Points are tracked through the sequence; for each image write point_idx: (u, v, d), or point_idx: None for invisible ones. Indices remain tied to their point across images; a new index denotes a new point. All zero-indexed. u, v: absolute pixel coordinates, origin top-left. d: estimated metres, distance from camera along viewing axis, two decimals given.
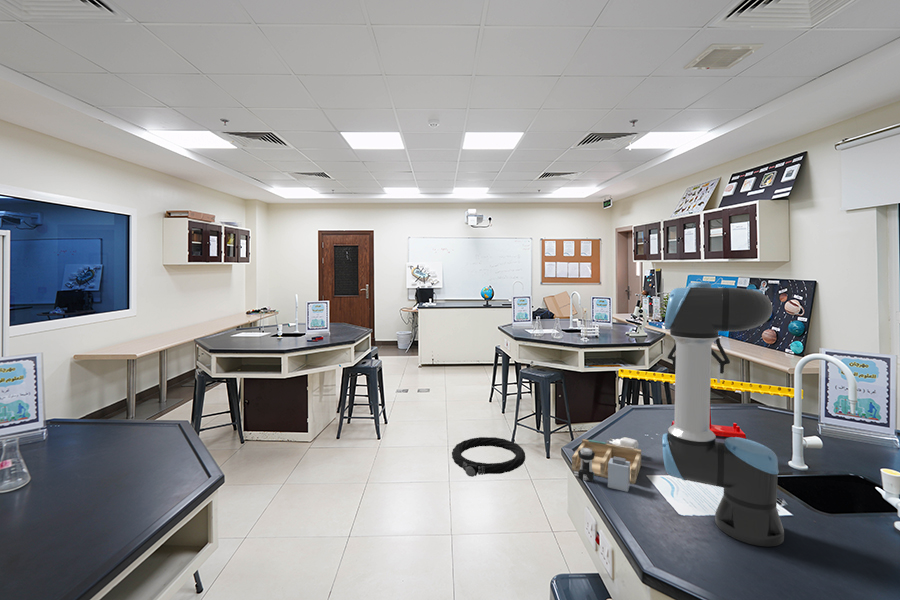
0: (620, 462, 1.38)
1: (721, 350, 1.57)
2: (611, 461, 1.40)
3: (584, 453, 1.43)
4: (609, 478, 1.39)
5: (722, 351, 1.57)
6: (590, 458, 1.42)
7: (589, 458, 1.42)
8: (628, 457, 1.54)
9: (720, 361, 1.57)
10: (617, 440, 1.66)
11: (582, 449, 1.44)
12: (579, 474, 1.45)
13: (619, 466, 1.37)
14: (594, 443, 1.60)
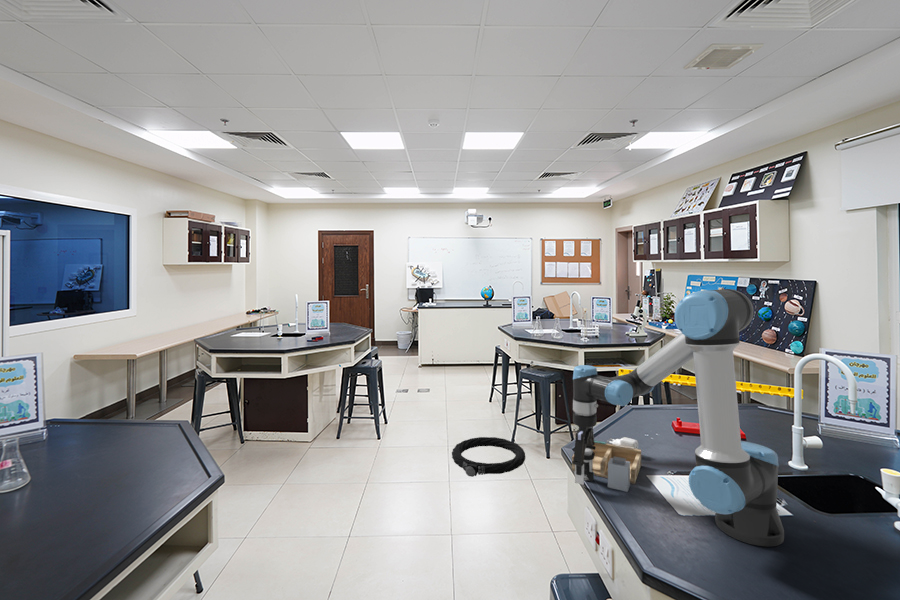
0: (620, 462, 1.38)
1: None
2: (611, 461, 1.40)
3: None
4: (609, 478, 1.39)
5: None
6: (590, 458, 1.42)
7: (589, 458, 1.42)
8: (628, 457, 1.54)
9: None
10: (617, 440, 1.66)
11: None
12: None
13: (619, 466, 1.37)
14: None
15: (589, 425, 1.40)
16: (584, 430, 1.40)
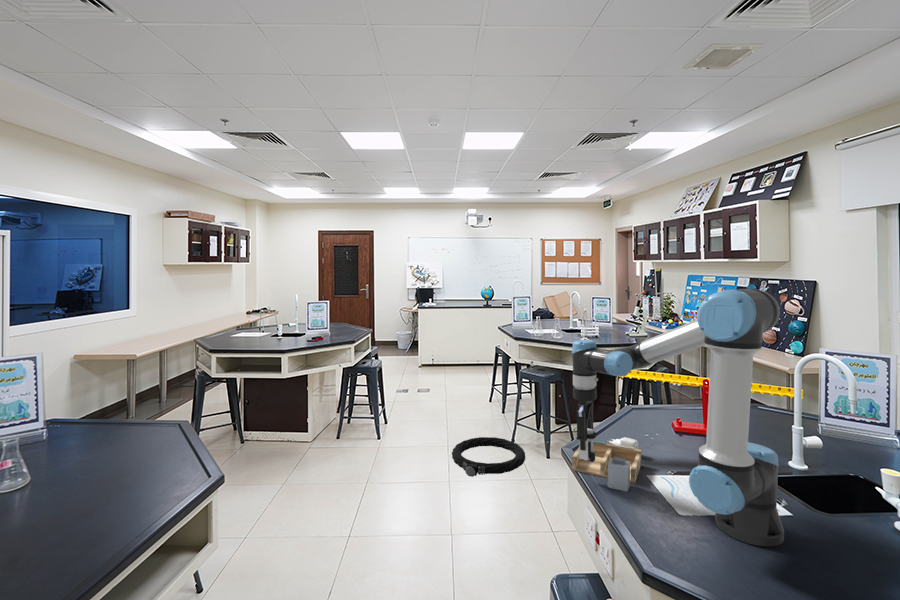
0: (620, 462, 1.38)
1: None
2: (611, 461, 1.40)
3: None
4: (609, 478, 1.39)
5: None
6: (591, 437, 1.41)
7: (590, 437, 1.41)
8: (628, 457, 1.54)
9: None
10: (617, 440, 1.66)
11: None
12: None
13: (619, 466, 1.37)
14: (594, 443, 1.60)
15: (589, 399, 1.39)
16: (584, 404, 1.40)
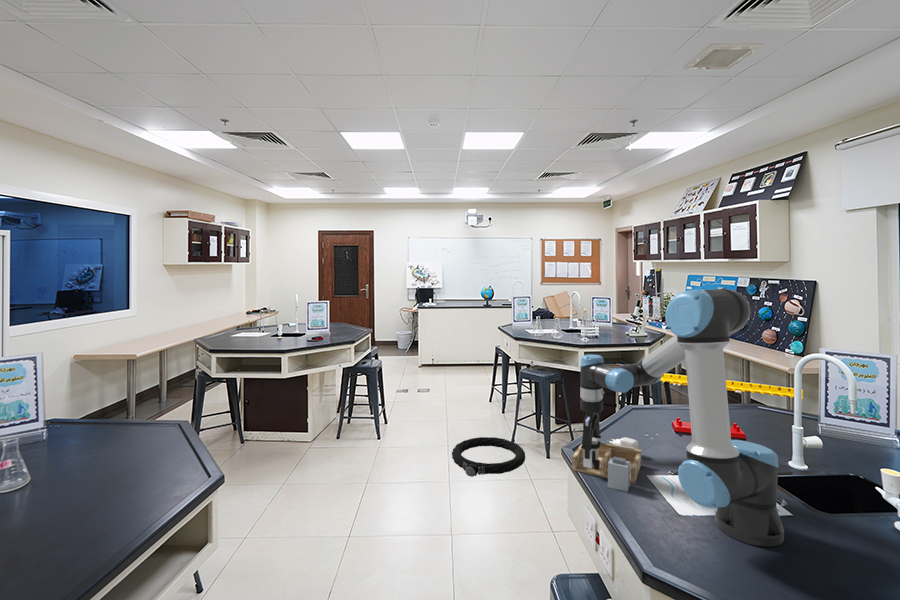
0: (620, 462, 1.37)
1: None
2: (611, 461, 1.40)
3: None
4: (609, 478, 1.39)
5: None
6: (596, 447, 1.49)
7: (595, 447, 1.49)
8: (628, 457, 1.54)
9: None
10: (617, 440, 1.66)
11: None
12: None
13: (619, 466, 1.37)
14: None
15: (596, 411, 1.48)
16: (591, 416, 1.48)
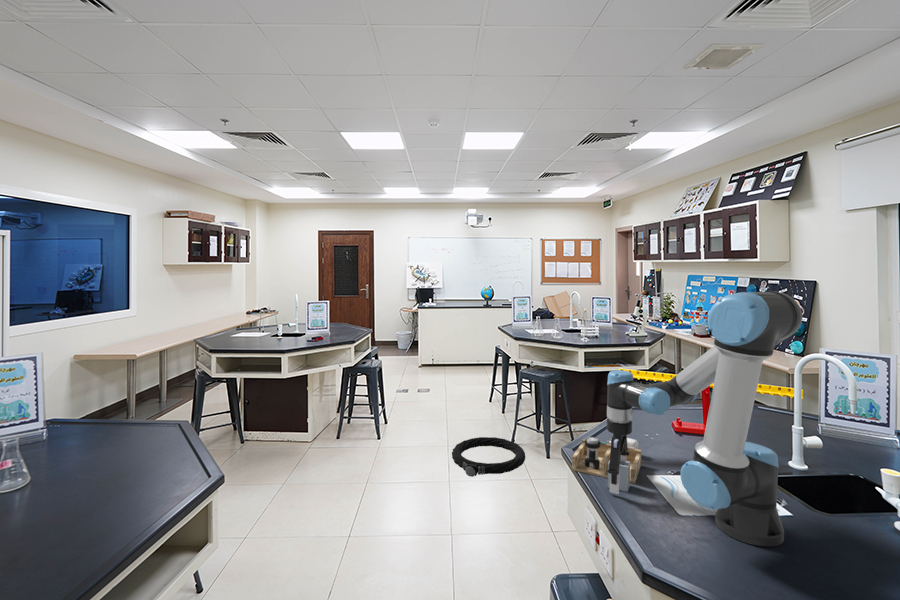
0: (620, 462, 1.38)
1: None
2: None
3: (590, 442, 1.50)
4: (609, 478, 1.39)
5: (610, 456, 1.33)
6: (596, 447, 1.49)
7: (595, 447, 1.49)
8: (628, 457, 1.54)
9: None
10: None
11: (588, 438, 1.51)
12: (586, 462, 1.52)
13: (619, 466, 1.37)
14: None
15: (625, 433, 1.34)
16: (620, 438, 1.35)
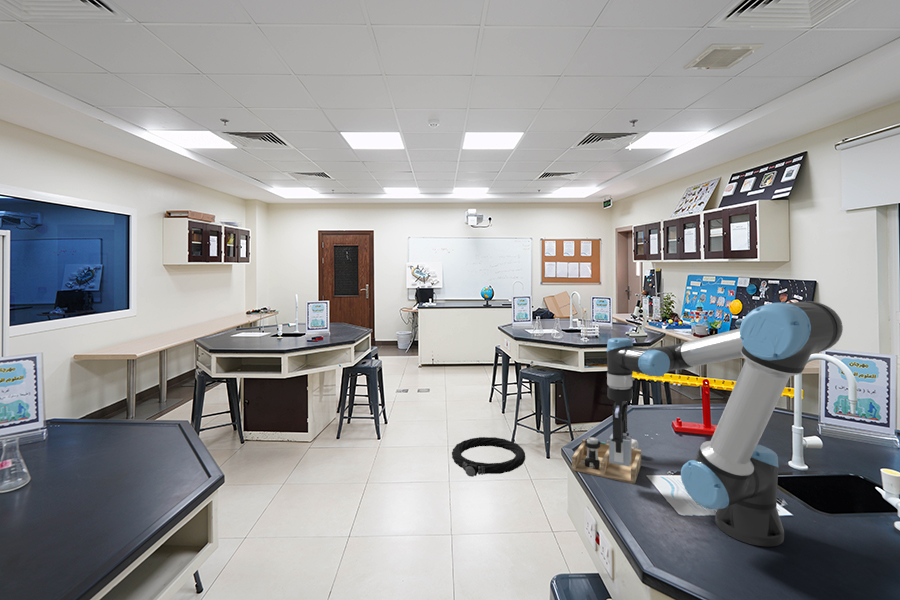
0: None
1: None
2: (612, 436, 1.39)
3: (590, 442, 1.50)
4: (610, 453, 1.38)
5: (613, 426, 1.34)
6: (596, 447, 1.49)
7: (595, 447, 1.49)
8: None
9: None
10: None
11: (588, 438, 1.51)
12: (586, 462, 1.52)
13: None
14: None
15: (626, 399, 1.34)
16: (620, 404, 1.34)
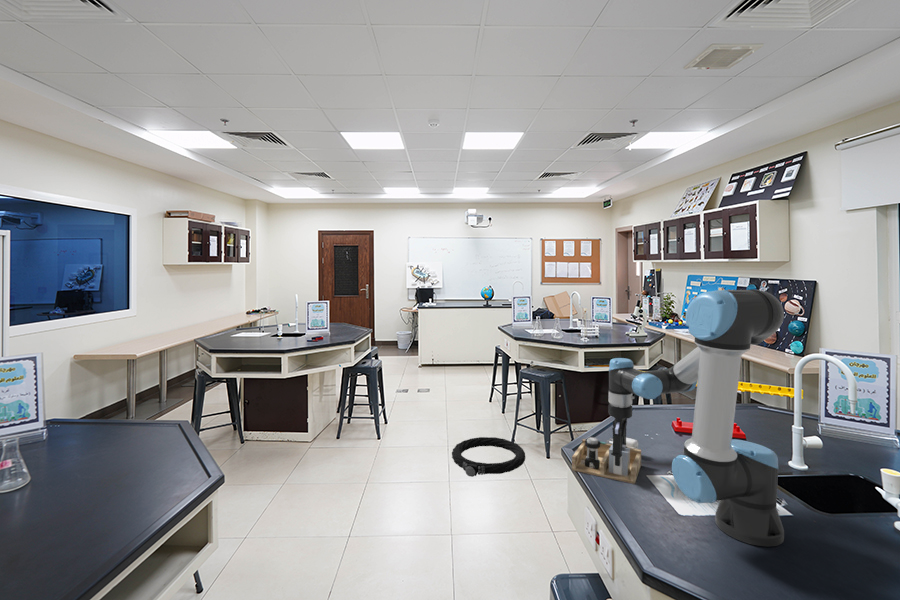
0: None
1: None
2: (612, 447, 1.48)
3: (590, 442, 1.50)
4: (610, 463, 1.47)
5: (613, 441, 1.43)
6: (596, 447, 1.49)
7: (595, 447, 1.49)
8: None
9: None
10: None
11: (588, 438, 1.51)
12: (586, 462, 1.52)
13: None
14: None
15: (625, 416, 1.43)
16: (620, 421, 1.43)
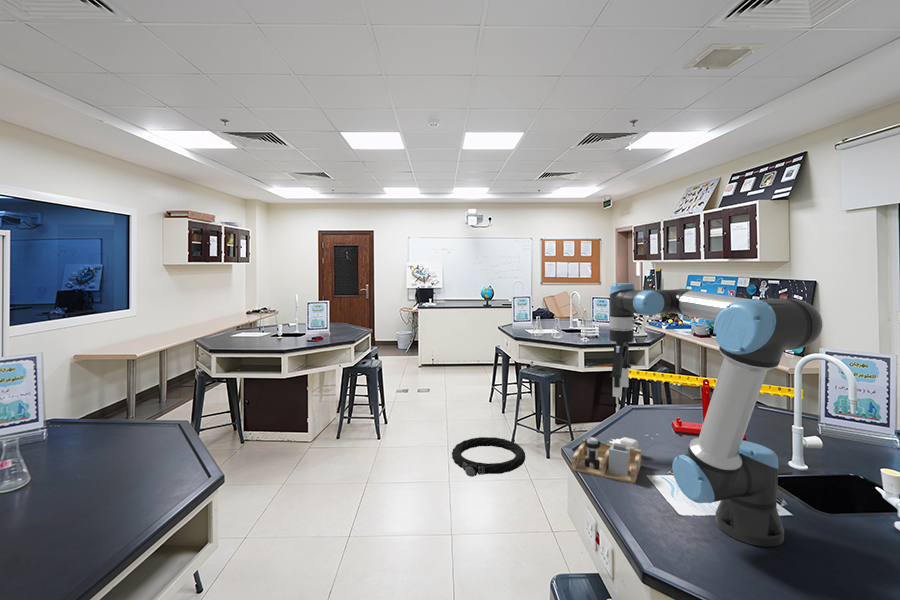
0: (620, 448, 1.46)
1: None
2: (612, 447, 1.48)
3: (590, 442, 1.50)
4: (610, 463, 1.47)
5: (613, 361, 1.39)
6: (596, 447, 1.49)
7: (595, 447, 1.49)
8: None
9: None
10: (617, 440, 1.66)
11: (588, 438, 1.51)
12: (586, 462, 1.52)
13: (619, 452, 1.45)
14: None
15: (627, 340, 1.41)
16: (622, 345, 1.41)
